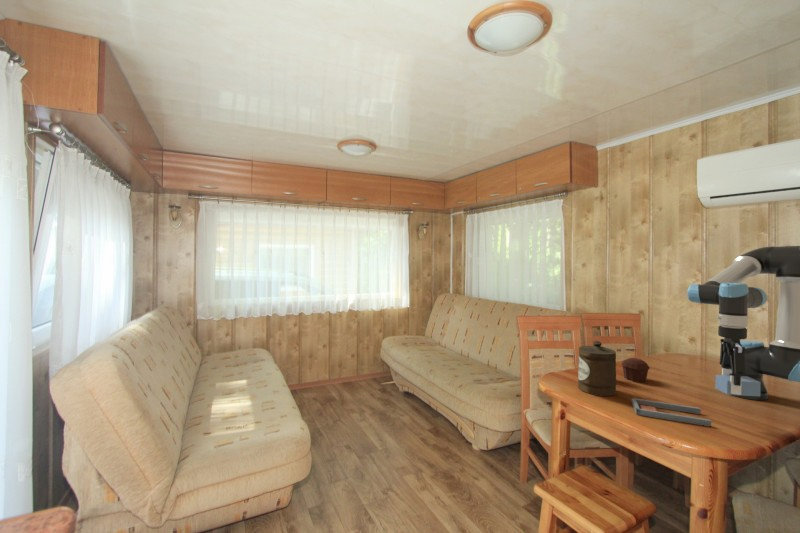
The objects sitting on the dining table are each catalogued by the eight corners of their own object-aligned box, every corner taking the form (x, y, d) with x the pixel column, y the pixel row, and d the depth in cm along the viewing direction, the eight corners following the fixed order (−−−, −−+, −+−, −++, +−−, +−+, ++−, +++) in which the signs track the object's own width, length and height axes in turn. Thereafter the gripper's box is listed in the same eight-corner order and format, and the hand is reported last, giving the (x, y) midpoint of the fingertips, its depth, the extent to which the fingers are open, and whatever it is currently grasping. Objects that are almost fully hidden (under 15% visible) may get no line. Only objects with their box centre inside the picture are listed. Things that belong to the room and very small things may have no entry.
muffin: (642, 376, 179) (643, 356, 179) (654, 383, 168) (654, 362, 168) (616, 374, 181) (617, 355, 181) (626, 382, 170) (627, 361, 170)
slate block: (746, 390, 129) (747, 376, 129) (760, 396, 124) (760, 382, 123) (715, 388, 131) (715, 374, 131) (727, 394, 125) (727, 380, 125)
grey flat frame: (699, 413, 137) (699, 407, 136) (710, 426, 125) (711, 421, 125) (631, 402, 146) (631, 397, 146) (636, 414, 135) (636, 409, 135)
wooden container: (576, 382, 170) (577, 336, 169) (612, 387, 164) (613, 339, 164) (579, 393, 156) (580, 343, 156) (618, 398, 150) (619, 346, 150)
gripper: (709, 320, 138) (708, 379, 138) (730, 330, 120) (728, 398, 120) (734, 322, 134) (733, 382, 135) (760, 332, 116) (758, 402, 117)
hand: (731, 390), depth 128 cm, fingers closed on slate block, 7 cm apart
